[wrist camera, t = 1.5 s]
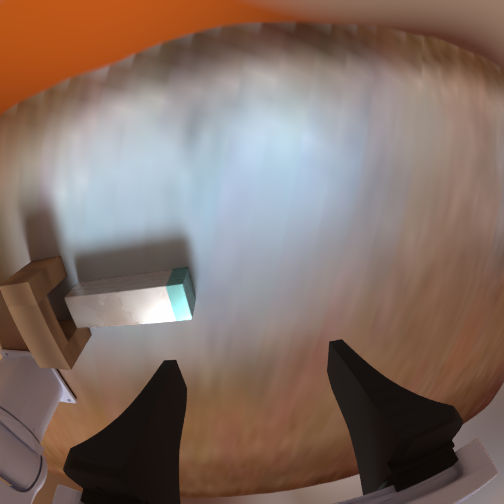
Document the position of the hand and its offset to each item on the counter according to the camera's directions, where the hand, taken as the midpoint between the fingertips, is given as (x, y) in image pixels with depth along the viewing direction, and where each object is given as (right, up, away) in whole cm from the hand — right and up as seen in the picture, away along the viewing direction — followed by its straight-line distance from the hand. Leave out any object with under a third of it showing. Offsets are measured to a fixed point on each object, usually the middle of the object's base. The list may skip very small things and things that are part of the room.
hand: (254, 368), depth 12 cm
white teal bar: (-10, +2, +9) cm, 13 cm away
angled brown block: (-18, +1, +9) cm, 20 cm away
